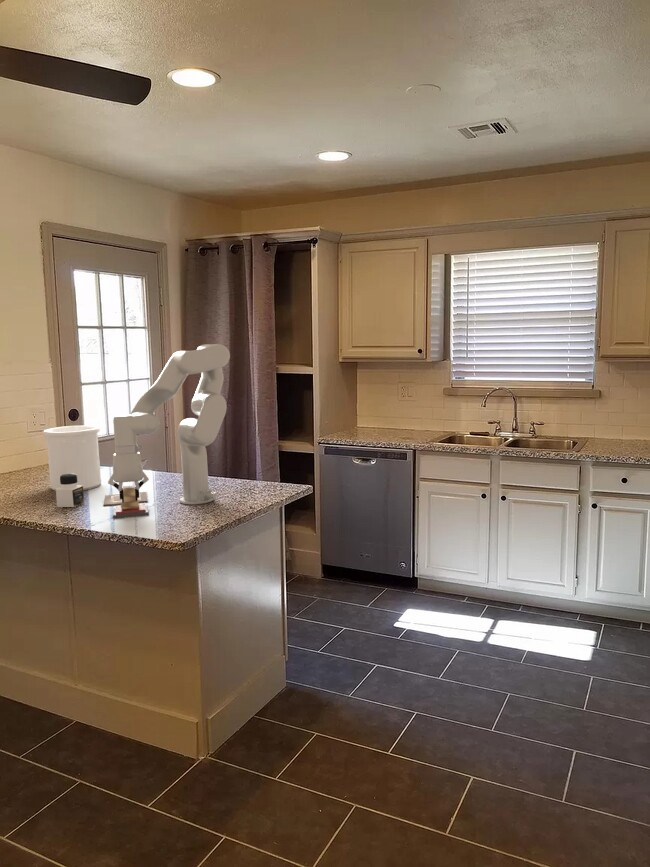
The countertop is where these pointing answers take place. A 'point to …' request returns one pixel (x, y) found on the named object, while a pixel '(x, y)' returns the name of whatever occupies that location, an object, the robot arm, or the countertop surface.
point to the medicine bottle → (69, 491)
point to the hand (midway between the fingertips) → (129, 500)
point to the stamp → (129, 498)
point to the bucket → (74, 455)
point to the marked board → (117, 501)
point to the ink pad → (130, 512)
